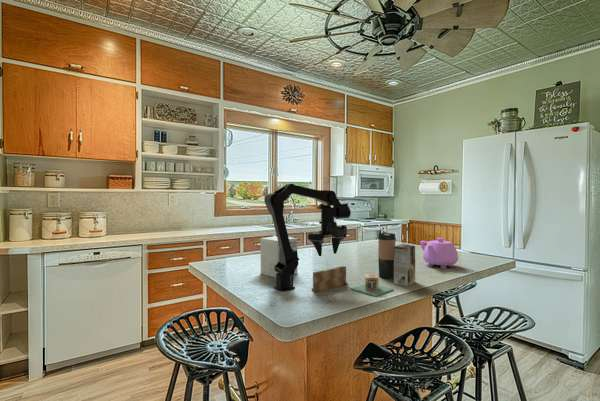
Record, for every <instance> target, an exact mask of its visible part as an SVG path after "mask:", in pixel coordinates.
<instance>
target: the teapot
mask: <svg viewBox="0 0 600 401" xmlns="http://www.w3.org/2000/svg"><path fill="white" fill-rule="evenodd" d="M419 243H420V244H419V245H420V248H421V249H422V251H423V253H422V259H423V260H424V261H425V263H428V264H427V265H426V266H427V267H434V265H435V266H436V265H437V266H440V269H443V270H447V267H449V266H450V267H449V268H452V267H454V265H455V264H457V263H458V261H459V255H458V254H459V253H458V251H457V248H456V246H455V245H454V243H453V242H452V241H447V240H445V238H443V237H437V238H436V240H429V241H427V240H420V242H419ZM425 244H426V245H425Z"/></svg>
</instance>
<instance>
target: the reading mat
mask: <svg viewBox="0 0 600 401" xmlns="http://www.w3.org/2000/svg"><path fill="white" fill-rule="evenodd" d="M350 290H351V291H354V292H357V293H361V294H365V295H367V296H372V297H374V298H375V297H379V296H381V295H382V296H383V295H384V294H388V293H389V292H390V293H391V292H393V291H394V288H391V287H388V286H383V285H380V284H379V291H374V290H365V283H363V284H359V285H356V286H353V287H350Z"/></svg>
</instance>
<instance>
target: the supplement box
mask: <svg viewBox="0 0 600 401" xmlns="http://www.w3.org/2000/svg"><path fill="white" fill-rule="evenodd" d="M288 237H289V241H290V246H291V248H292V249H293V250H296V251H297V252H298V237H291V236H288ZM259 241H260V274H262V275H264V276H268V277H272V278H275V279H276V274H277V273H278V272H276V271H275V269H274V267H275V265H276V264H277V263H278V262H279V252H280V247H279V243H278V239H277V235H275V236H268V237H261V238H260V240H259ZM297 274H298V267H297V268H296V269H295V272H294V275H297Z"/></svg>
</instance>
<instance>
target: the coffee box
mask: <svg viewBox="0 0 600 401" xmlns="http://www.w3.org/2000/svg"><path fill="white" fill-rule="evenodd" d="M414 283H416V245H413V244H412V245H411V244H405V243H402V244H398V245H395V247H394V278H393V284H394V285H397V286H403V287H409V286H411V285H412V284H414Z"/></svg>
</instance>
